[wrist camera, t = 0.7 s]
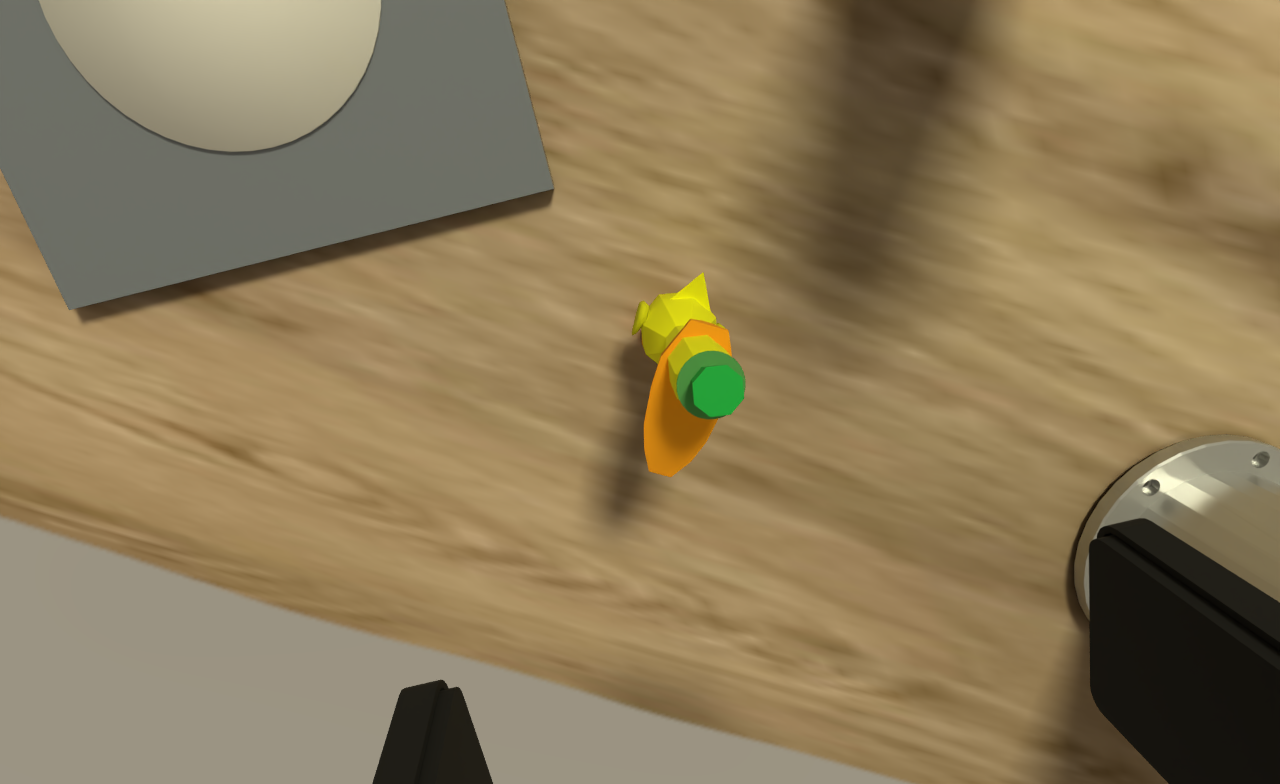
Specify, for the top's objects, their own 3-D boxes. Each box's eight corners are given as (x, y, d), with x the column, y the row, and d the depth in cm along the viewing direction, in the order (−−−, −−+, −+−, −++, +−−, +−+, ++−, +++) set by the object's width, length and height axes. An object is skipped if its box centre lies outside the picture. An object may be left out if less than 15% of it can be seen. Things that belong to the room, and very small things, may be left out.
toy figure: (676, 409, 35) (725, 534, 23) (601, 389, 34) (615, 507, 23) (724, 268, 33) (803, 329, 22) (646, 244, 32) (685, 293, 21)
